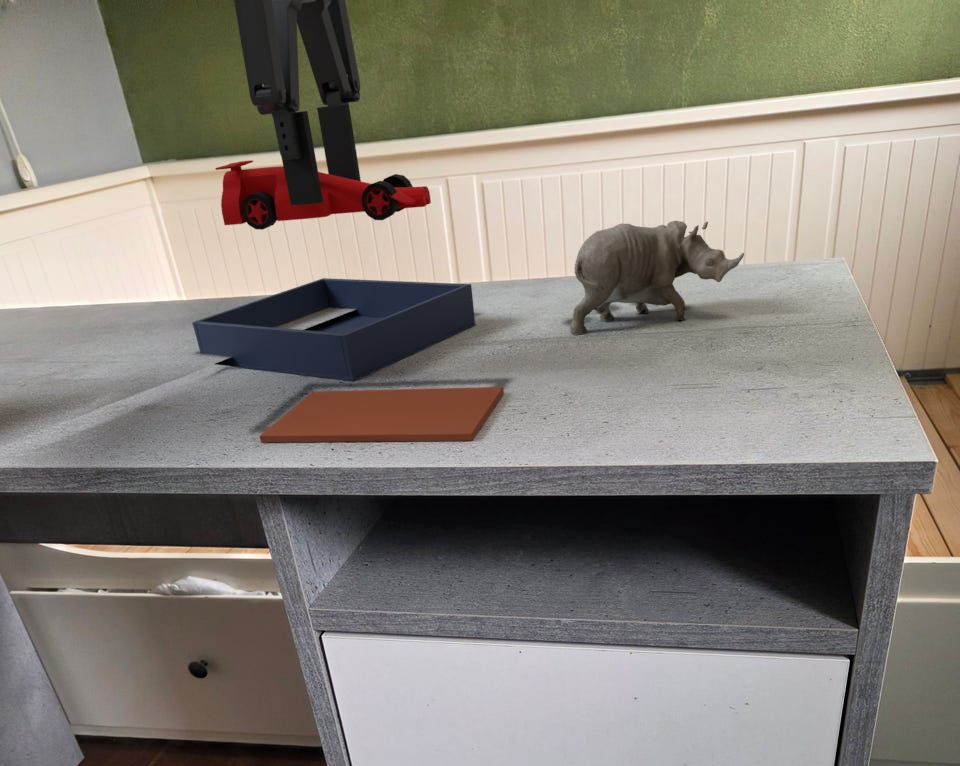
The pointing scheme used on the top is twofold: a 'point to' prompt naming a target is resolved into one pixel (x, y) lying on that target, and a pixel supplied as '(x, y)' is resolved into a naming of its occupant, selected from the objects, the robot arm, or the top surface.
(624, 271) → the rhinoceros figurine
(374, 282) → the blue tray
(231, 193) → the toy car
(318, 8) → the robot arm
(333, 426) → the mat
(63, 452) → the top surface
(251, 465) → the top surface
